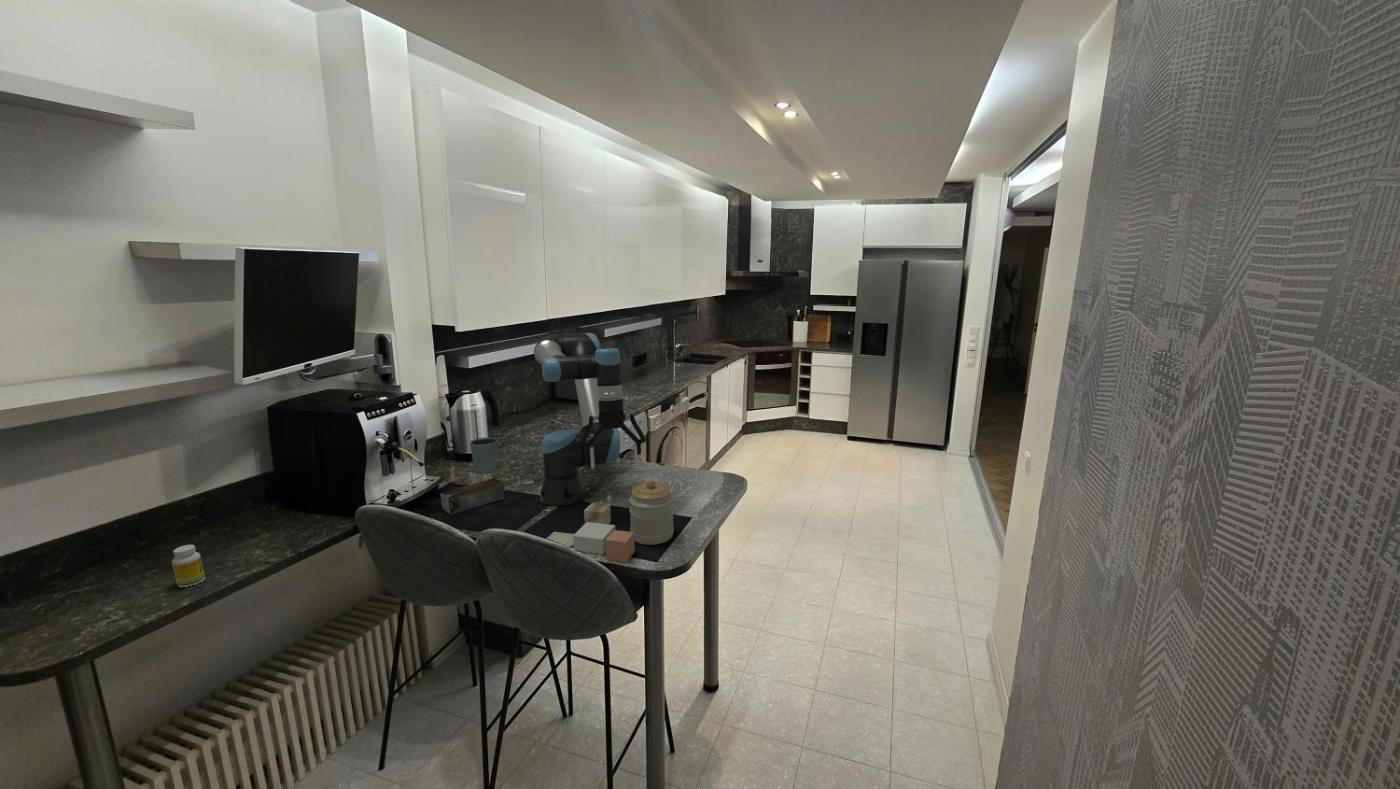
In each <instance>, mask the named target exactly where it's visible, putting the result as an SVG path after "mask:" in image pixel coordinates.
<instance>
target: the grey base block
mask: <svg viewBox="0 0 1400 789" xmlns="http://www.w3.org/2000/svg"><path fill="white" fill-rule="evenodd" d="M614 530H616V525H615V524H610V523H609V524H600V523H591V522H586V523H585V522H584V524H583V525H582V526H581V527H580V528H579V529H578V530H577V531H576V532H575V533H573V534H574V535H573V550H574V549H576V550H578V551H577V552H584V553H591V554H599V555H600V554H601V555H604V554H606V539H607V538H608V536H609V535H610V534H611V533H612V532H613V531H614Z"/></svg>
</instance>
